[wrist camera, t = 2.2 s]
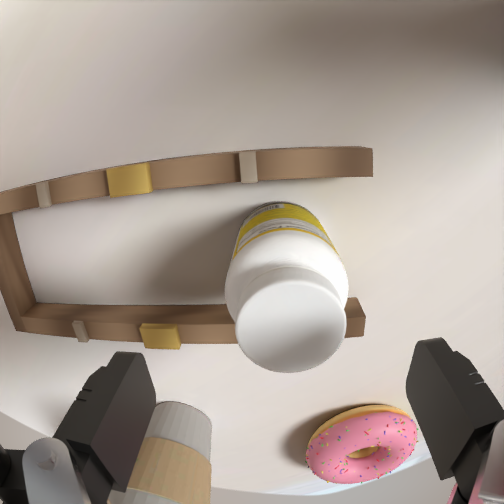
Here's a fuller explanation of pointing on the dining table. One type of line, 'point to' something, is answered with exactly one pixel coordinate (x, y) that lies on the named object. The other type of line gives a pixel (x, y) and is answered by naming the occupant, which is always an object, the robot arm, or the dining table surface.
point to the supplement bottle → (286, 289)
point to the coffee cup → (171, 459)
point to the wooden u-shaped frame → (145, 181)
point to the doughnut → (361, 444)
